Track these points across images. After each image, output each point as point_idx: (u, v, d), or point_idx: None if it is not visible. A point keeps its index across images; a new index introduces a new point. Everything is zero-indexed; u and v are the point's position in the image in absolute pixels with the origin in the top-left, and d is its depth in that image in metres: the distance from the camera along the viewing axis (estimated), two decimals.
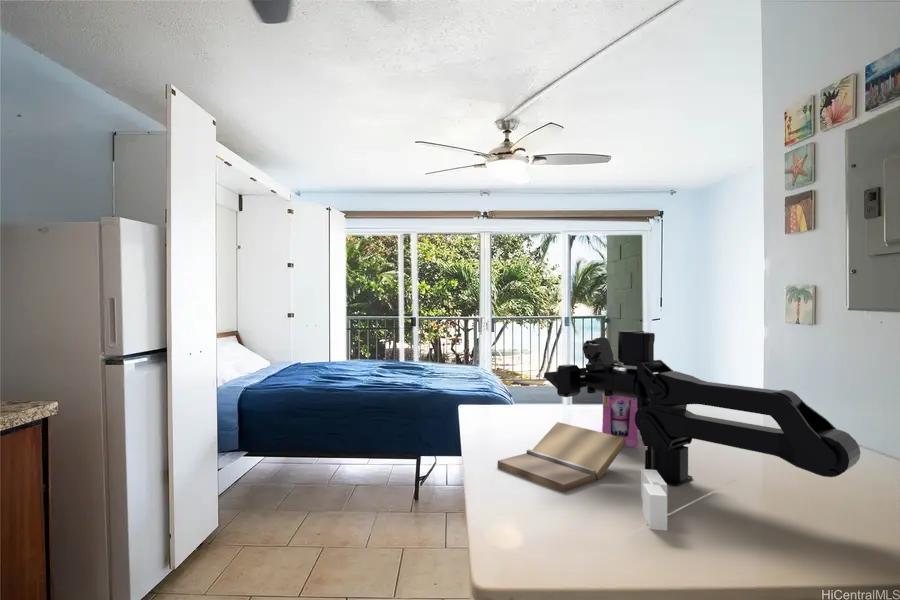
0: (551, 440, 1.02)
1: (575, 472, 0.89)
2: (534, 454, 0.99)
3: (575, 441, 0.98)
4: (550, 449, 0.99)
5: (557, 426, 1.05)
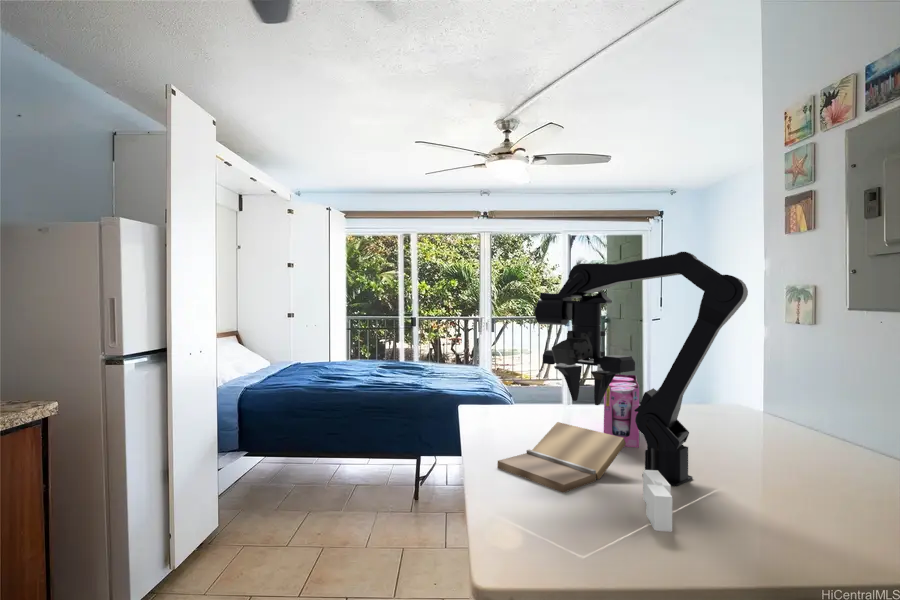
0: (551, 440, 1.02)
1: (575, 472, 0.89)
2: (534, 454, 0.99)
3: (575, 441, 0.98)
4: (550, 449, 0.99)
5: (557, 426, 1.05)
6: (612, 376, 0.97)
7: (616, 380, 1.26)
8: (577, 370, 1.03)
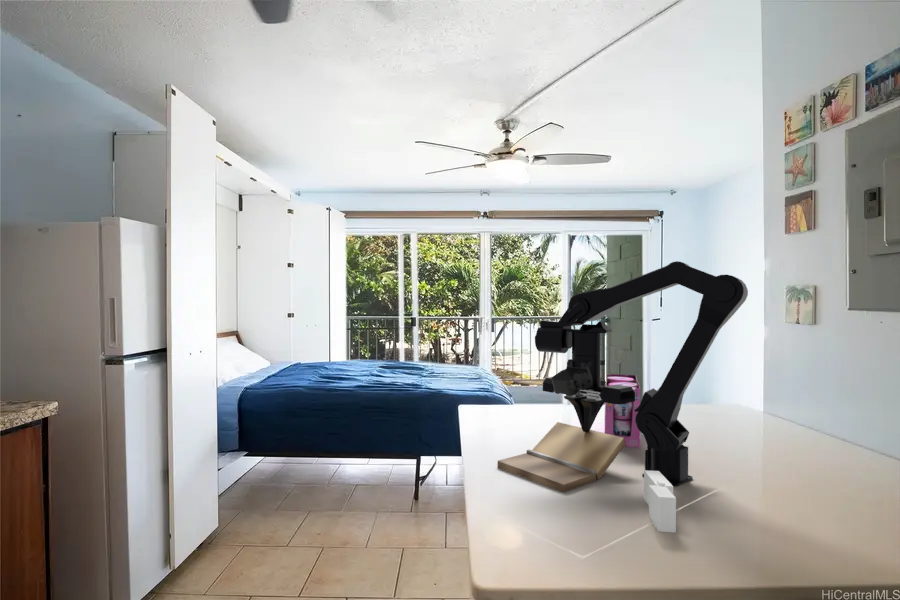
0: (551, 440, 1.02)
1: (575, 472, 0.89)
2: (534, 454, 0.99)
3: (575, 441, 0.98)
4: (550, 449, 0.99)
5: (557, 426, 1.05)
6: (601, 404, 0.99)
7: (616, 380, 1.26)
8: None
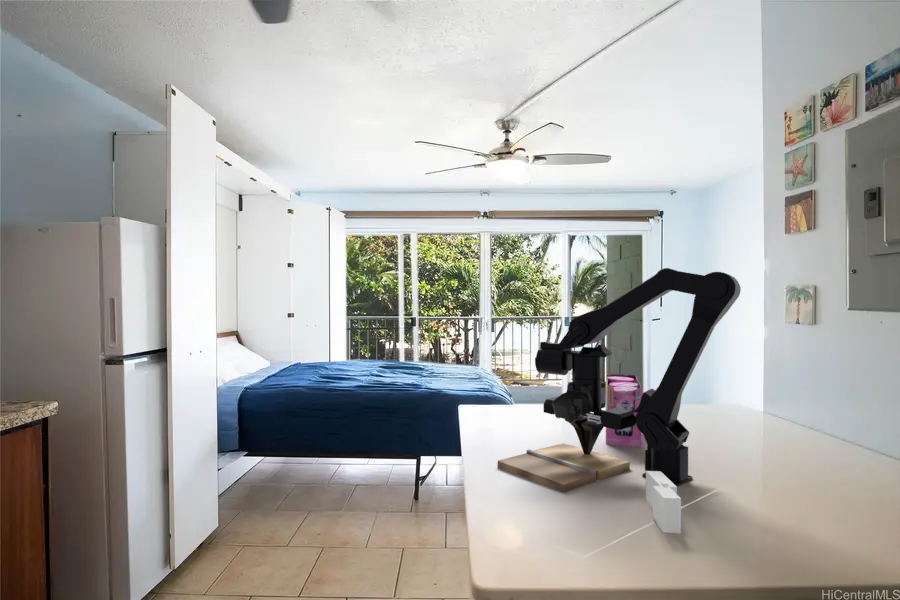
0: (555, 449, 1.02)
1: (575, 472, 0.89)
2: (534, 454, 0.99)
3: (580, 454, 0.99)
4: (553, 453, 1.00)
5: (562, 445, 1.06)
6: (602, 426, 1.00)
7: (617, 380, 1.26)
8: None
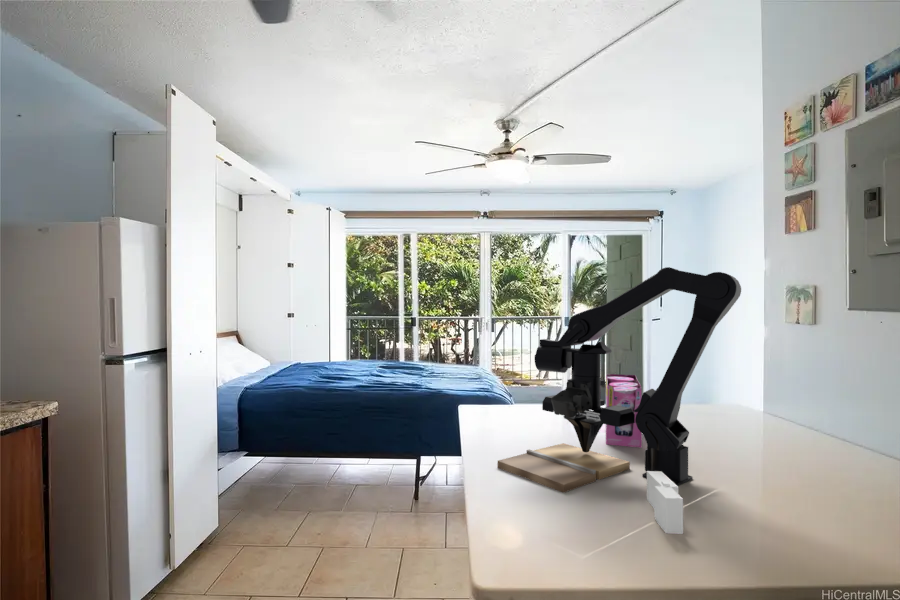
0: (555, 449, 1.02)
1: (575, 472, 0.89)
2: (534, 454, 0.99)
3: (580, 454, 0.99)
4: (553, 453, 1.00)
5: (562, 445, 1.06)
6: (601, 424, 0.99)
7: (617, 380, 1.26)
8: None
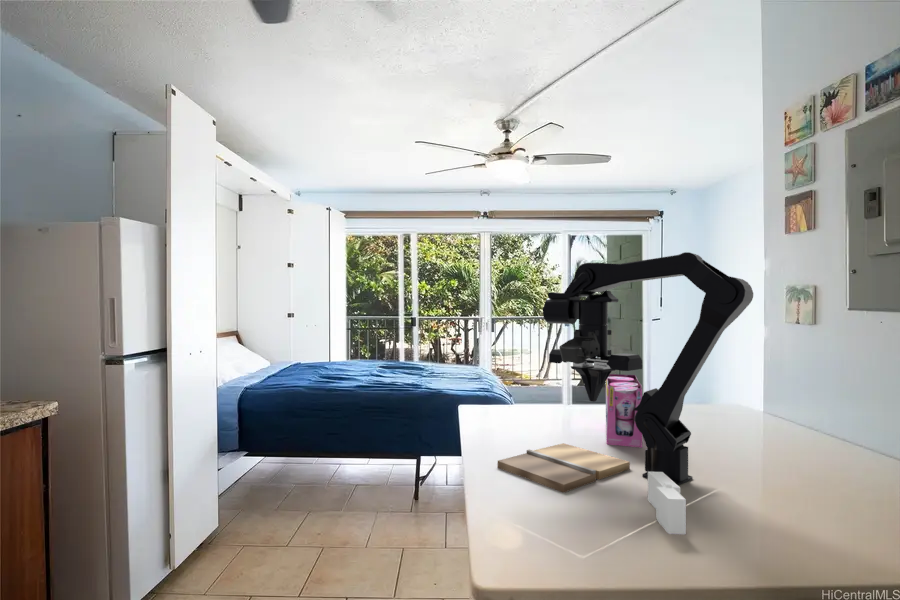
0: (555, 449, 1.02)
1: (575, 472, 0.89)
2: (534, 454, 0.99)
3: (580, 454, 0.99)
4: (553, 453, 1.00)
5: (562, 445, 1.06)
6: (608, 373, 1.00)
7: (617, 380, 1.26)
8: None
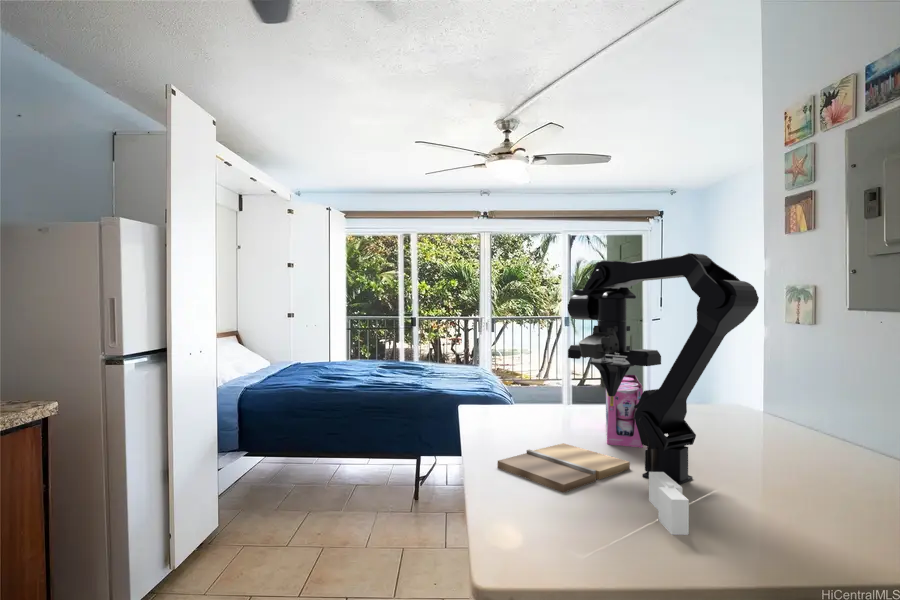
0: (555, 449, 1.02)
1: (575, 472, 0.89)
2: (534, 454, 0.99)
3: (580, 454, 0.99)
4: (553, 453, 1.00)
5: (562, 445, 1.06)
6: (627, 368, 1.02)
7: None
8: None
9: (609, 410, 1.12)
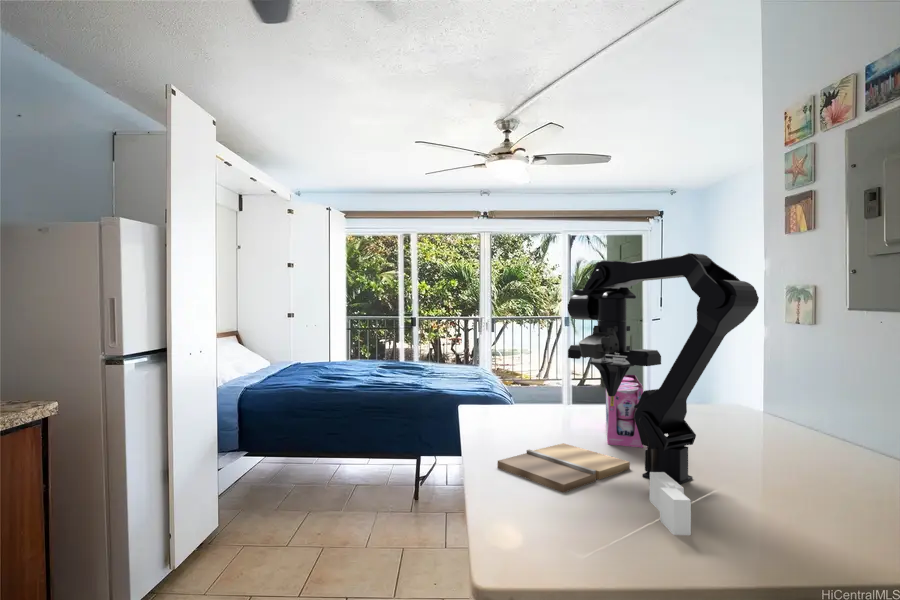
0: (555, 449, 1.02)
1: (575, 472, 0.89)
2: (534, 454, 0.99)
3: (580, 454, 0.99)
4: (553, 453, 1.00)
5: (562, 445, 1.06)
6: (627, 368, 1.02)
7: None
8: None
9: (609, 410, 1.12)
